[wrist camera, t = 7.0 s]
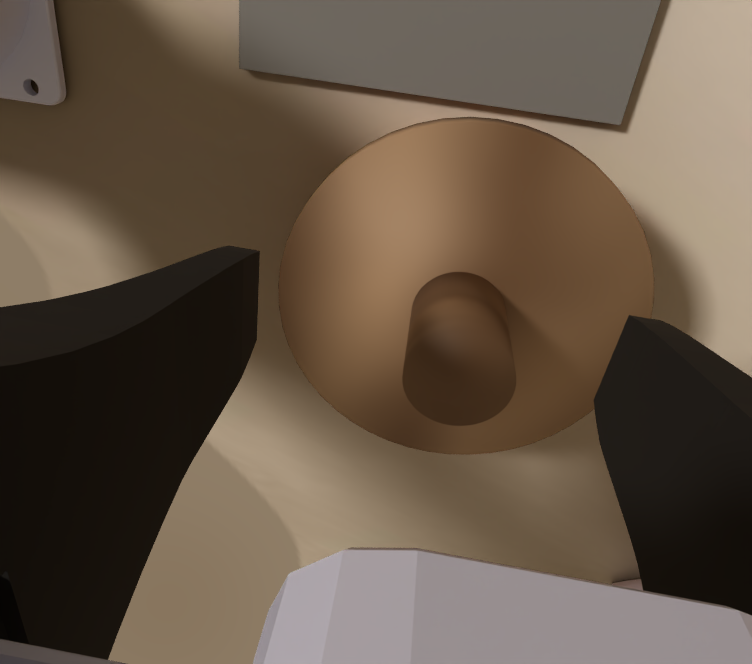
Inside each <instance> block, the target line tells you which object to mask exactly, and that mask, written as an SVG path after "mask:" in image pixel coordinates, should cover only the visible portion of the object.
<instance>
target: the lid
mask: <svg viewBox="0 0 752 664" xmlns="http://www.w3.org/2000/svg"><path fill="white" fill-rule="evenodd" d="M278 288H279V308H280V314H281V320H282V325H283V329H284V332H285V335H286V338H287V341H288V344H289V347H290V349H291V351H292V353H293V355H294V357H295V359H296V361H297V364H298V365H299V367H300V368H301V370H302V371H303V373H304V374H305V376H306V378H307V379H308V381H309V382H310V383H311V384H312V385H313V387H314V388H315V389H316V390H317V391H318V393H319V394H320V395H321V396H322V397H323V398H324V399H325V400H326V401H327V402H328V403H329V404H330V405H332V406H333V407H334V408H335V409H336V410H337V411H338V412H340V413H341V414H342V415H344V416H345V417H346V418H348V419H349V420H350V421H352V422H353V423H355V424H357V425H358V426H360V427H362V428H364V429H365V430H367V431H369V432H371V433H373V434H375V435H377V436H379V437H382V438H384V439H386V440H388V441H391V442H394V443H397V444H400V445H403V446H406V447H410V448H415V449H419V450H424V451H428V452H436V453H444V454H482V453H493V452H498V451H504V450H510V449H514V448H517V447H521V446H524V445H528V444H531V443H534V442H537V441H539V440H542V439H544V438H547V437H549V436H552V435H554V434H555V433H557V432H559V431H561V430H563V429H565V428H567V427H569V426H571V425H572V424H574V423H575V422H577V421H578V420H579V419H581V418H582V417H584V416H585V415H587V414H588V413H590V412H591V411H592V410H593V409H594V408H595V407H594V398H595V395H596V393H597V390H598V388H599V386H600V383H601V381H602V378H603V376H604V374H605V371H606V369H607V366H608V364H609V362H610V359H611V357H612V354H613V352H614V350H615V347H616V345H617V342H618V340H619V338H620V335H621V333H622V330H623V328H624V325H625V323H626V321H627V318H628V316H629V315H632V316H637V317H643V318H649V319H651V313H652V308H653V302H654V273H653V266H652V258H651V253H650V250H649V247H648V243H647V240H646V237H645V234H644V231H643V229H642V227H641V225H640V223H639V221H638V219H637V217H636V215H635V213H634V211H633V209H632V208H631V206H630V205H629V203H628V202H627V201H626V199H625V198H624V196H623V195H622V193H621V192H620V191H619V189H618V188H617V187H616V186H615V184H614V183H613V182H612V181H611V180H610V179H609V178H608V177H607V176H606V175H605V174H604V173H603V172H602V171H601V170H600V168H599V167H598V166H597V165H596V164H595V163H594V162H592V161H591V160H590V159H588V158H587V157H586V156H584V155H583V154H582V153H580V152H579V151H578V150H576V149H575V148H574V147H572V146H570V145H569V144H567V143H565V142H563V141H561V140H559V139H558V138H556V137H554V136H552V135H550V134H548V133H545V132H542V131H540V130H537V129H534V128H532V127H529V126H526V125H523V124H518V123H514V122H509V121H505V120H500V119H491V118H478V117H460V118H443V119H438V120H433V121H428V122H423V123H418V124H414V125H411V126H408V127H405V128H402V129H399V130H396V131H394V132H391V133H389V134H387V135H385V136H383V137H381V138H379V139H377V140H375V141H373V142H371V143H369V144H367V145H366V146H364V147H363V148H361V149H360V150H358V151H357V152H355V153H354V154H352V155H351V156H350V157H348V158H347V159H346V160H344V161H343V162H342V163H341V164H340V165H339V166H338V167H337V168H336V169H335V170H334V171H332V172H331V173H330V174H329V175H328V176H327V178H326V179H325V180H324V181H323V182H322V184H321V185H320V186H319V187H318V188H317V190H316V191H315V192H314V193H313V195H312V196H311V198H310V199H309V200H308V202H307V203H306V205H305V207H304V208H303V210H302V212H301V213H300V215H299V216H298V218H297V220H296V221H295V224H294V226H293V228H292V231H291V233H290V235H289V238H288V240H287V242H286V246H285V250H284V254H283V257H282V261H281V266H280V276H279V285H278Z"/></svg>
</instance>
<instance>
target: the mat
mask: <svg viewBox="0 0 752 664" xmlns="http://www.w3.org/2000/svg"><path fill="white" fill-rule="evenodd" d="M660 2H661V0H239V68H240V69H246V70H253V71H260V72H267V73H273V74H280V75H287V76H293V77H300V78H307V79H314V80H320V81H327V82H334V83H340V84H347V85H354V86H361V87H367V88H374V89H381V90H387V91H394V92H401V93H408V94H414V95H421V96H428V97H434V98H441V99H448V100H455V101H461V102H468V103H475V104H481V105H488V106H495V107H502V108H508V109H515V110H522V111H528V112H535V113H542V114H549V115H555V116H562V117H569V118H576V119H582V120H589V121H596V122H602V123H609V124H616V125H621V122H622V119H623V116H624V113H625V110H626V106H627V103H628V100H629V97H630V94H631V91H632V88H633V85H634V82H635V79H636V76H637V73H638V70H639V67H640V63H641V60H642V57H643V54H644V51H645V48H646V45H647V42H648V39H649V36H650V33H651V30H652V27H653V23H654V20H655V17H656V14H657V11H658V8H659V5H660Z"/></svg>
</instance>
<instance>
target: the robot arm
mask: <svg viewBox="0 0 752 664" xmlns="http://www.w3.org/2000/svg"><path fill="white" fill-rule="evenodd" d="M31 80H34V81H35V83H36V84H37V85H38V88H39V92H38V93H36V92H35V91H34V90H33V89H32V87H31ZM65 97H66V86H65V79H64V72H63V65H62V58H61V51H60V44H59V37H58V30H57V23H56V16H55V9H54V3H53V0H0V98H4V99H11V100H17V101H24V102H31V103H37V104H44V105H56V104H60V103H61V102H63V101H64V99H65ZM259 255H260V251H257V250H251V249H245V248H239V247H234V246H225V247H221V248H217V249H214V250H211V251H208V252H205V253H202V254H199V255H197V256H194V257H191V258H189V259H186V260H183V261H181V262H178V263H175V264H172V265H170V266H167V267H164V268H162V269H159V270H156V271H153V272H150V273H147V274H144V275H141V276H138V277H135V278H131V279H128V280H125V281H122V282H119V283H116V284H113V285H110V286H106V287H102V288H99V289H95V290H91V291H87V292H83V293H78V294H74V295H69V296H65V297H60V298H56V299H51V300H46V301H40V302H33V303H26V304H20V305H13V306H6V307H0V664H125V663H120V662H115V661H110V660H108V658H109V655H110V652H111V650H112V647H113V644H114V642H115V639H116V636H117V633H118V631H119V628H120V626H121V623H122V621H123V618H124V616H125V613H126V611H127V608H128V606H129V603H130V601H131V598H132V596H133V593H134V590H135V588H136V586H137V583H138V580H139V578H140V575H141V573H142V570H143V568H144V566H145V564H146V561H147V559H148V556H149V554H150V552H151V549H152V547H153V544H154V542H155V540H156V538H157V535H158V532H159V531H160V528H161V526H162V523H163V521H164V519H165V516H166V514H167V512H168V510H169V508H170V506H171V503H172V501H173V499H174V497H175V495H176V492H177V490H178V488H179V486H180V483H181V481H182V479H183V477H184V475H185V473H186V472H187V470H188V468H189V466H190V464H191V462H192V460H193V459H194V457H195V455H196V454H197V452H198V450H199V449H200V447H201V445H202V444H203V442H204V440H205V439H206V437H207V435H208V434H209V432H210V430H211V429H212V427H213V425H214V424H215V422H216V420H217V419H218V417H219V415H220V414H221V412H222V410H223V409H224V407H225V405H226V404H227V402H228V400H229V398H230V397H231V395H232V393H233V392H234V390H235V388H236V387H237V385H238V383H239V381H240V379H241V378H242V375H243V373H244V370H245V368H246V366H247V363H248V361H249V358H250V356H251V353H252V350H253V348H254V345H255V343H256V340H257V313H258V284H259ZM594 407H595V415H596V423H597V429H598V435H599V441H600V445H601V448H602V452H603V455H604V458H605V461H606V464H607V468H608V471H609V474H610V477H611V480H612V483H613V486H614V489H615V492H616V495H617V499H618V502H619V505H620V508H621V511H622V514H623V517H624V520H625V523H626V526H627V529H628V532H629V535H630V538H631V541H632V545H633V549H634V552H635V556H636V560H637V563H638V567H639V572H640V577H641V582H642V587H643V590H638V589H633V588H627V587H622V586H616V585H611V584H606V583H600V582H595V581H590V580H584V579H579V578H574V577H568V576H563V575H558V574H552V573H547V572H541V571H536V570H531V569H525V568H520V567H515V566H509V565H504V564H499V563H493V562H488V561H483V560H477V559H472V558H466V557H461V556H456V555H450V554H445V553H440V552H434V551H429V550H424V549H418V548H348V549H345V550H342V551H340V552H337V553H335V554H333V555H330V556H328V557H326V558H323V559H321V560H319V561H317V562H314V563H312V564H310V565H307V566H305V567H303V568H300V569H298V570H296V571H293V572H291V573H289V574H288V576H287V578H286V580H285V582H284V584H283V585H282V587H281V589H280V591H279V593H278V595H277V597H276V598H275V600H274V602H273V604H272V606H271V607H270V609H269V611H268V614H267V617H266V621H265V624H264V627H263V631H262V634H261V638H260V641H259V644H258V648H257V651H256V654H255V658H254V661H253V664H752V377H750V376H749V375H747V374H745V373H744V372H742V371H741V370H739V369H738V368H736V367H735V366H734V365H732V364H731V363H729V362H728V361H726V360H725V359H723V358H722V357H720V356H719V355H717V354H716V353H714V352H713V351H711V350H710V349H708V348H707V347H705V346H704V345H702V344H701V343H699V342H698V341H696V340H695V339H693V338H692V337H690V336H688V335H687V334H685V333H684V332H682V331H680V330H679V329H677V328H675V327H673V326H671V325H670V324H667V323H665V322H663V321H660V320H655V319H649V318H643V317H637V316H632V315H629V316H628V318H627V321H626V323H625V325H624V328H623V330H622V333H621V335H620V338H619V340H618V342H617V345H616V347H615V350H614V352H613V354H612V357H611V359H610V362H609V364H608V366H607V369H606V371H605V374H604V376H603V378H602V381H601V383H600V386H599V388H598V390H597V393H596V395H595V398H594Z"/></svg>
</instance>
